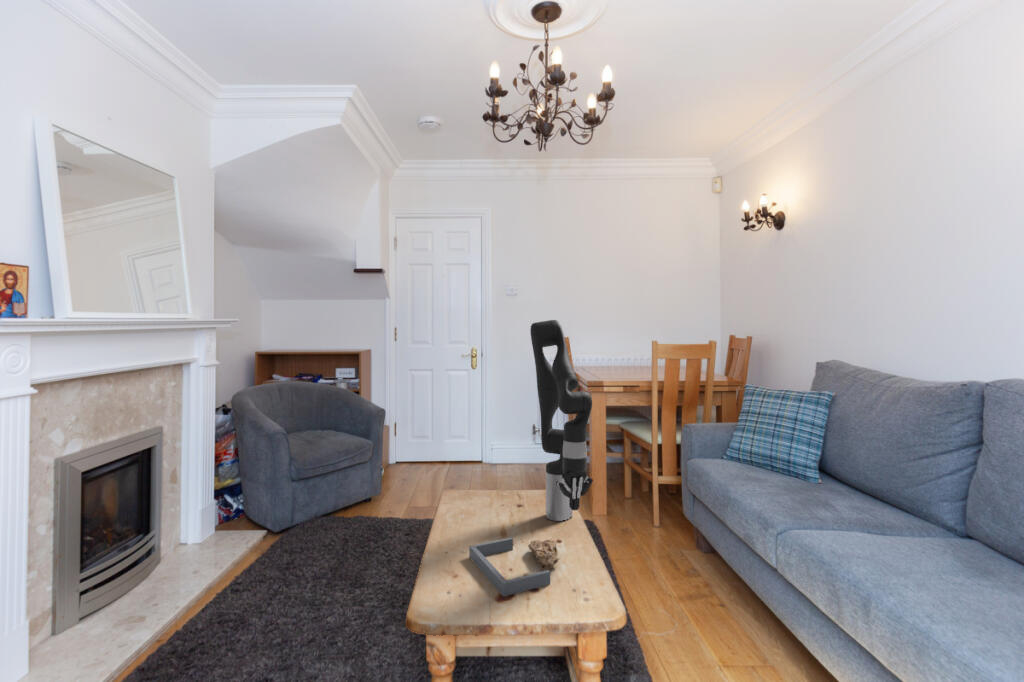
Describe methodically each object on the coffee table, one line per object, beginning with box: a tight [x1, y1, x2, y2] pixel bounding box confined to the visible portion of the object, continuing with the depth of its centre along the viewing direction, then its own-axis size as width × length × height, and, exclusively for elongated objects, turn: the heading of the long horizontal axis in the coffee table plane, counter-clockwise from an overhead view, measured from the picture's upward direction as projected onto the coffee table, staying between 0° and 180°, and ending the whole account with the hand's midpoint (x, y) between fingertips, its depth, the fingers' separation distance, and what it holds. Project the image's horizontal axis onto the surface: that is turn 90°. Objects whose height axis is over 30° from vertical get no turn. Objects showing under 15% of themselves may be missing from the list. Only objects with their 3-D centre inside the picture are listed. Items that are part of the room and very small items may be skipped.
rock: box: [527, 538, 561, 572], centre depth 147 cm, size 17×5×10 cm
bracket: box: [468, 537, 551, 597], centre depth 141 cm, size 14×25×4 cm, turn 26°
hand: (574, 509), depth 151 cm, fingers closed
